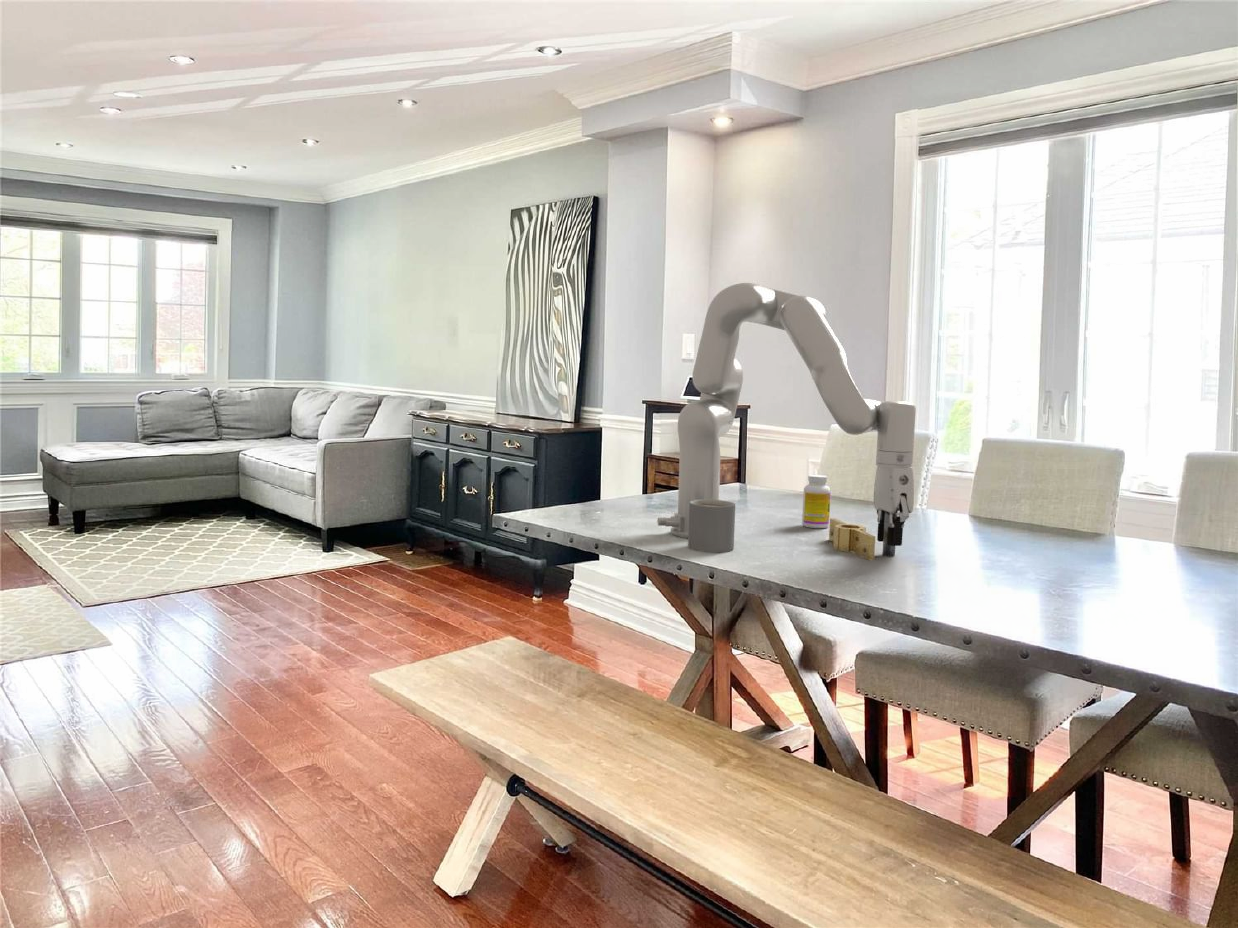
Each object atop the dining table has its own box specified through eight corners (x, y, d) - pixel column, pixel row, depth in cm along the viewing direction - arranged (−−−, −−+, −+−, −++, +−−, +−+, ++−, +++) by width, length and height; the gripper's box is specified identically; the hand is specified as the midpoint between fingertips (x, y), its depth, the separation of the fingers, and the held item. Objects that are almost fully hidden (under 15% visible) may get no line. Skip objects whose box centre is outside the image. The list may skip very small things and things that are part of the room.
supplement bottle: (831, 529, 231) (834, 477, 229) (804, 528, 231) (807, 477, 229) (825, 524, 237) (828, 474, 236) (799, 523, 237) (802, 473, 236)
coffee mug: (723, 554, 197) (725, 508, 196) (680, 549, 202) (682, 503, 201) (745, 544, 209) (747, 500, 208) (704, 539, 214) (705, 496, 213)
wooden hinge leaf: (846, 545, 211) (847, 523, 210) (839, 545, 210) (840, 523, 210) (834, 539, 217) (835, 518, 217) (828, 539, 217) (829, 518, 217)
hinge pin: (884, 557, 199) (887, 506, 198) (876, 553, 203) (879, 503, 202) (900, 556, 200) (903, 506, 198) (892, 553, 203) (895, 503, 202)
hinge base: (857, 560, 195) (858, 536, 195) (829, 545, 210) (830, 524, 209) (885, 559, 197) (886, 536, 196) (856, 545, 211) (857, 523, 210)
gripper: (930, 463, 191) (924, 551, 193) (892, 454, 208) (887, 535, 210) (896, 463, 190) (890, 551, 192) (861, 454, 206) (856, 536, 208)
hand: (889, 542), depth 201 cm, fingers open, 3 cm apart
